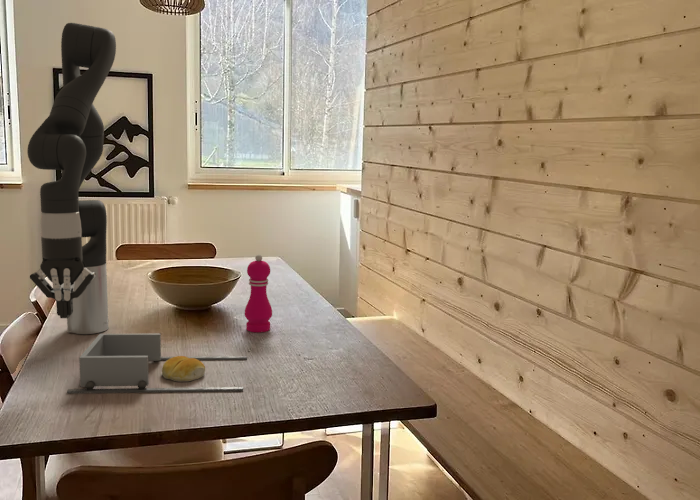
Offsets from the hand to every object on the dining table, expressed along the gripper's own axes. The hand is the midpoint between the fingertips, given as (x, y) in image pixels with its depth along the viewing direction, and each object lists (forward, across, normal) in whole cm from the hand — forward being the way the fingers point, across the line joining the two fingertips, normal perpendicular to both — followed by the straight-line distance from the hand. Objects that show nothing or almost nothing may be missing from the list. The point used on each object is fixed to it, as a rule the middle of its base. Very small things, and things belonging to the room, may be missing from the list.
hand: (65, 317), depth 138 cm
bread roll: (+13, +24, 0) cm, 27 cm away
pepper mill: (+13, +39, +33) cm, 53 cm away
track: (+13, +20, 0) cm, 23 cm away
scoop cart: (+13, +12, 0) cm, 17 cm away
